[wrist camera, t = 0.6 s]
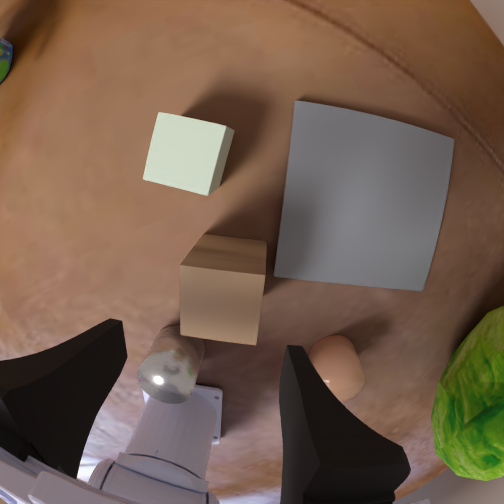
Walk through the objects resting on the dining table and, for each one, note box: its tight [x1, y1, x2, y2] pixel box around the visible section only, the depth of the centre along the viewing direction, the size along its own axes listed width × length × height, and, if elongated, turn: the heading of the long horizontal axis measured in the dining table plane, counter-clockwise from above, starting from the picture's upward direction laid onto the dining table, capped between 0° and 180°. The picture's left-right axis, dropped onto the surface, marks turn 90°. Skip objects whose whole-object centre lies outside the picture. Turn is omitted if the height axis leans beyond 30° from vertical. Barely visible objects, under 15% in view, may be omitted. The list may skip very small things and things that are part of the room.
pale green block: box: [143, 112, 235, 196], centre depth 17 cm, size 4×4×4 cm
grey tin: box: [137, 325, 205, 404], centre depth 22 cm, size 4×4×5 cm
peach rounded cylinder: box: [309, 335, 365, 402], centre depth 22 cm, size 4×4×4 cm
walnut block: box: [180, 234, 267, 345], centre depth 19 cm, size 4×4×6 cm
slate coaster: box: [274, 100, 454, 291], centre depth 19 cm, size 12×12×1 cm
